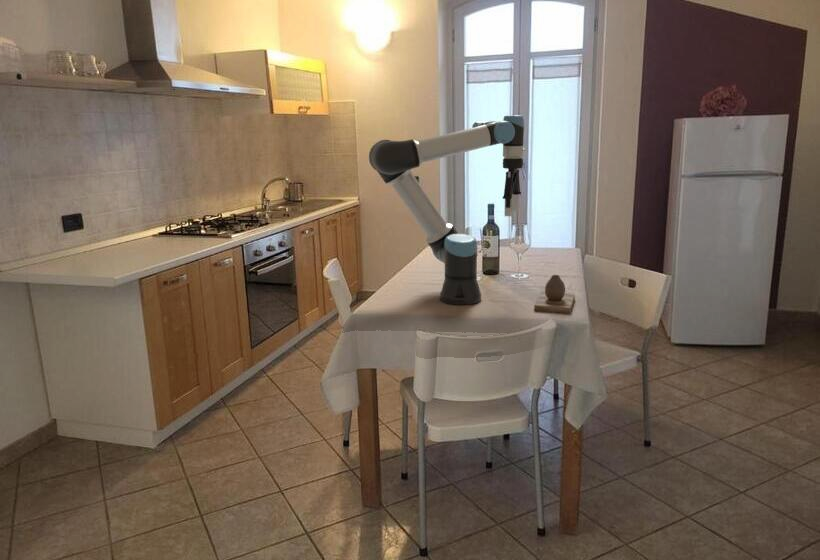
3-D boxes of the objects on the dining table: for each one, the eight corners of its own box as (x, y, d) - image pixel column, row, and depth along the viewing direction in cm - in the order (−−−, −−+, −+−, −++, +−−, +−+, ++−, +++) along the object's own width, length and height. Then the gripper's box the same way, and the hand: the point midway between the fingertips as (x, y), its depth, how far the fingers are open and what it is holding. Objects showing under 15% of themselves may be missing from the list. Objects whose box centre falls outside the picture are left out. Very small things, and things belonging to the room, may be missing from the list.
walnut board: (570, 313, 208) (570, 307, 208) (534, 310, 212) (534, 305, 211) (574, 299, 225) (574, 294, 224) (541, 296, 228) (541, 291, 228)
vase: (568, 301, 215) (569, 276, 213) (551, 303, 213) (552, 278, 211) (557, 296, 222) (559, 272, 220) (541, 298, 220) (541, 274, 218)
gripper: (516, 159, 220) (515, 218, 225) (528, 155, 243) (526, 209, 248) (496, 159, 222) (495, 218, 228) (509, 155, 245) (508, 209, 250)
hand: (511, 213), depth 238 cm, fingers open, 13 cm apart
